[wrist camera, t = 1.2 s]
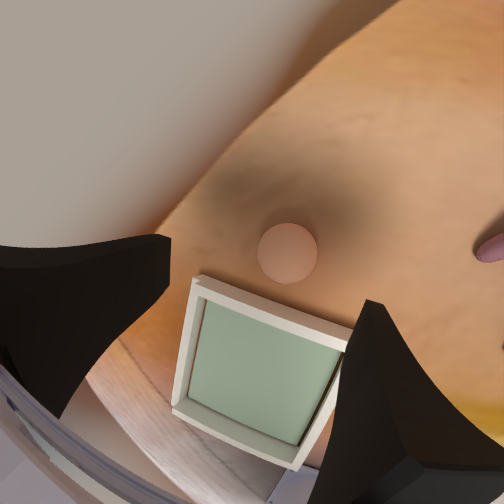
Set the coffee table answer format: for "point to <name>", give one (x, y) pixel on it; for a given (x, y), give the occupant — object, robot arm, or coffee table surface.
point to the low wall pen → (273, 316)
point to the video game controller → (492, 249)
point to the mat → (259, 373)
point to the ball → (287, 253)
